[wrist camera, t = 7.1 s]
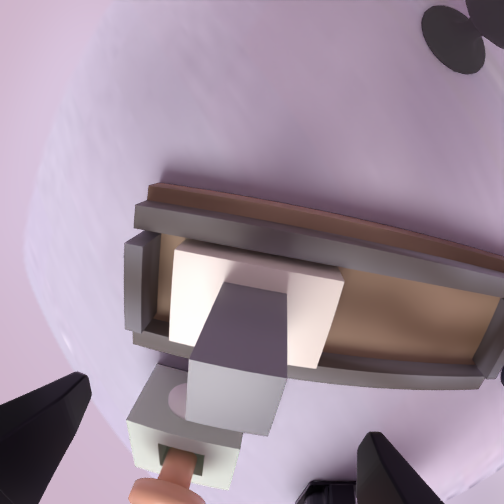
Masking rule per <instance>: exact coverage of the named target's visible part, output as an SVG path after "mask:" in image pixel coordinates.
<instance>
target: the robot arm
mask: <svg viewBox="0 0 504 504" xmlns="http://www.w3.org/2000/svg"><path fill="white" fill-rule="evenodd" d="M91 395H92V392H91V387H90V383H89V378H88V376H87V375H85V374H83V373H80V372H73V373H71V374H69V375H67V376H65V377H63V378H60V379H58V380H56V381H54V382H52V383H50V384H48V385H45V386H43V387H41V388H38V389H36V390H34V391H31V392H29V393H27V394H25V395H22V396H20V397H18V398H15V399H13V400H11V401H9V402H6V403H4V404H2V405H0V504H38V503H39V502H40V499H41V498H42V496H43V494H44V492H45V490H46V488H47V486H48V484H49V482H50V480H51V478H52V476H53V474H54V472H55V471H56V469H57V467H58V465H59V463H60V461H61V460H62V458H63V456H64V454H65V452H66V450H67V449H68V447H69V445H70V443H71V441H72V440H73V438H74V436H75V434H76V432H77V429H78V427H79V425H80V422H81V420H82V418H83V415H84V413H85V411H86V408H87V406H88V403H89V401H90V399H91ZM356 498H357V500H356ZM295 504H444V503H443V501H440V498H439V497H438V496H437V495H436V494H435V493H434V492H433V490H432V489H431V488H430V487H429V486H428V485H427V484H426V483H425V481H424V480H423V479H422V478H421V477H420V476H419V475H418V474H417V472H416V471H415V470H414V469H413V468H412V467H411V466H410V465H409V463H408V462H407V461H406V460H405V459H404V458H403V457H402V455H401V454H400V453H399V452H398V451H397V450H396V449H395V447H394V446H393V445H392V444H391V443H390V442H389V441H388V439H387V438H386V437H385V436H384V435H383V434H382V433H381V432H369V433H367V435H366V436H365V438H364V439H363V441H362V442H361V444H360V445H359V447H358V450H357V481H356V482H311V483H309V484H308V486H307V487H306V489H305V490H304V492H303V493H302V495H301V496H300V497H299V499H298V500H297V501H296V503H295Z"/></svg>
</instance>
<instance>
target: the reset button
mask: <svg viewBox="0 0 504 504" xmlns="http://www.w3.org/2000/svg"><path fill="white" fill-rule="evenodd" d="M196 462H197V456H196V455H195V454H194V453H193V452H189V451H185V450H181V449H177V448H173V447H172V448H170V449H169V450H168V452H167V455H166V458H165V460H164V463H163V466H162V469H161V471H160V474H159V477H158V479H154V478H140V479H137V480H136V481H135V483H134V486H133V488H132V490H131V492H130V495H129V498H128V499H129V501H130V503H132V504H205V501H204V500H203V499H202V498H201V497H200V496H199V495H198V494H196V493H194V492H193V491H191V490H189V487H190V483H191V480H192V476H193V473H194V469H195V466H196Z"/></svg>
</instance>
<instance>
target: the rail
mask: <svg viewBox="0 0 504 504" xmlns="http://www.w3.org/2000/svg"><path fill="white" fill-rule="evenodd" d="M134 228H136V229H141V230H145V231H143V232H141V233H140V234H138V235H136V236H135V237H133V238H132V239H130V240H129V241H127V242H125V243H124V315H125V329H126V330H129V331H133V344H135V345H139V346H142V347H146V348H149V349H153V350H157V351H160V352H164V353H168V354H172V355H176V356H180V357H184V358H188V359H189V358H190V356H191V353H192V351H193V349H194V346H189V345H185V344H181V343H177V342H173V341H169V327H170V306H171V289H172V274H173V261H174V250H175V249H176V248H177V247H178V246H179V245H180V244H181V243H182V242H183V241H184V240H185V239H186V238H189V239H194V240H200V241H205V242H210V243H216V244H221V245H226V246H232V247H237V248H242V249H248V250H253V251H258V252H263V253H269V254H274V255H279V256H285V257H290V258H295V259H301V260H306V261H311V262H316V263H322V264H327V265H332V266H338V268H339V270H340V273H341V275H342V277H343V279H344V285H343V288H342V292H341V295H340V298H339V302H338V305H337V308H336V311H335V315H334V318H333V321H332V324H331V327H330V330H329V333H328V336H327V339H326V342H325V345H324V348H323V351H322V354H321V356H320V359H319V362H318V365H317V368H316V369H313V368H306V367H299V366H292V365H287V378H291V379H298V380H305V381H312V382H321V383H329V384H338V385H348V386H360V387H373V388H388V389H411V390H471V389H479V387H480V386H481V384H482V382H483V381H484V379H485V378H486V379H496V377H497V375H498V374H499V372H500V370H501V369H502V367H503V365H504V256H500V255H497V254H494V253H490V252H487V251H483V250H480V249H476V248H473V247H469V246H466V245H462V244H458V243H455V242H451V241H447V240H444V239H440V238H436V237H432V236H428V235H424V234H421V233H417V232H413V231H409V230H405V229H400V228H396V227H392V226H388V225H384V224H380V223H375V222H371V221H366V220H362V219H358V218H353V217H349V216H344V215H339V214H335V213H330V212H325V211H320V210H316V209H311V208H306V207H301V206H296V205H290V204H285V203H280V202H275V201H269V200H264V199H258V198H253V197H247V196H241V195H236V194H230V193H224V192H218V191H211V190H205V189H199V188H192V187H186V186H179V185H172V184H165V183H156V184H152V185H149V187H148V198H147V200H146V201H144V202H141V203H139V204H136V205H135V216H134Z"/></svg>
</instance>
